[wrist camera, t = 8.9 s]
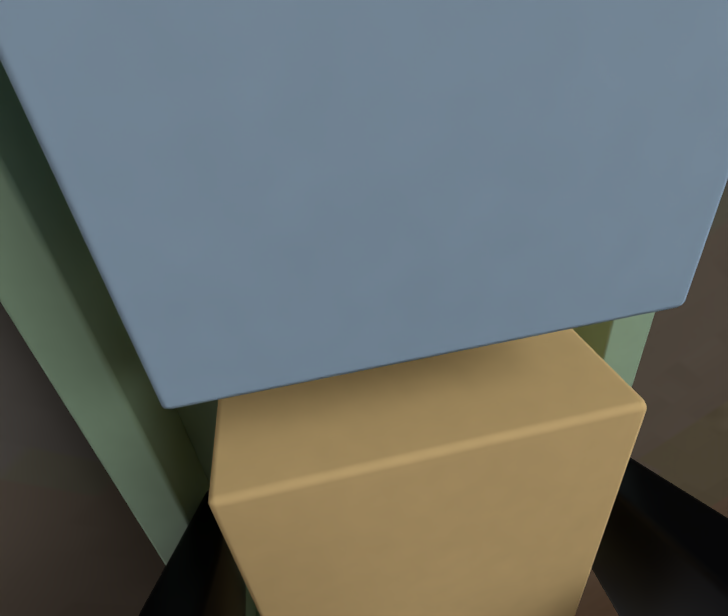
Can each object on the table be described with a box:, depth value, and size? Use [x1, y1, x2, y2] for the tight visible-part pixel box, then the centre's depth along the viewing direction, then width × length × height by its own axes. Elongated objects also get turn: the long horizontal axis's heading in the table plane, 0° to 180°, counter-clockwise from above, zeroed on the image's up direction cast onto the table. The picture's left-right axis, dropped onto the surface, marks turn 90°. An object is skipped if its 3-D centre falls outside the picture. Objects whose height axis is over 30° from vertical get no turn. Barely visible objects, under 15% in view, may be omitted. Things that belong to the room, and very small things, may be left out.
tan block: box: [208, 329, 647, 616], centre depth 8 cm, size 8×5×4 cm, turn 5°
